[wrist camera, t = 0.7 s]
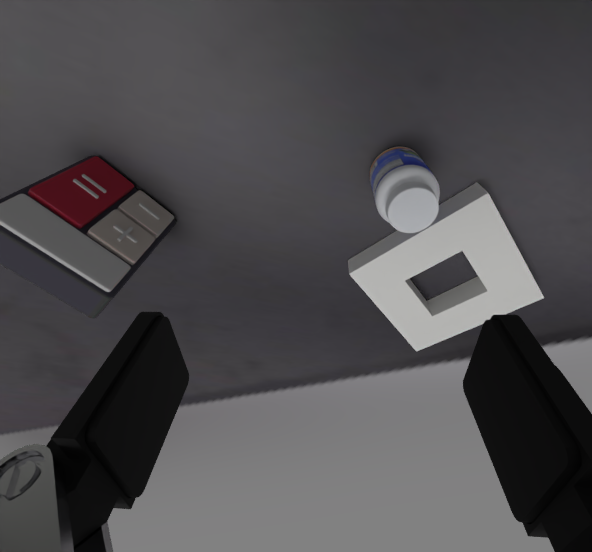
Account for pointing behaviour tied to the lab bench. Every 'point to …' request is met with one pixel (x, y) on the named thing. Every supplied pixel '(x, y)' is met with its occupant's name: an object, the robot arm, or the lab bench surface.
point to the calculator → (80, 233)
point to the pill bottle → (404, 190)
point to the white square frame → (434, 249)
